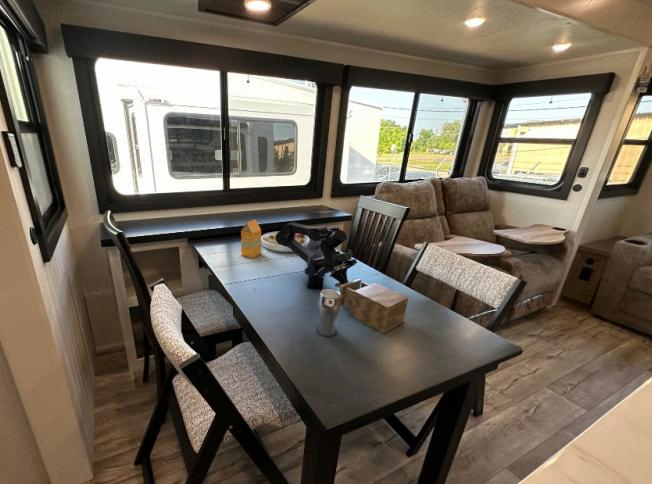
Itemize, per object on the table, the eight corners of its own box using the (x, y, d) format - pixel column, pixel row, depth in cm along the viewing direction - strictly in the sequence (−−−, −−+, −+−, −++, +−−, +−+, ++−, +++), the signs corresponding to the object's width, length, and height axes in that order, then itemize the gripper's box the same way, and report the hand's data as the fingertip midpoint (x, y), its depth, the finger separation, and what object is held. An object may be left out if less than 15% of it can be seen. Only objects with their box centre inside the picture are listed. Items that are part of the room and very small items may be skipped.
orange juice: (261, 253, 180) (261, 220, 172) (252, 258, 173) (252, 223, 166) (250, 251, 184) (250, 217, 176) (241, 255, 177) (240, 221, 169)
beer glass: (337, 327, 112) (342, 290, 106) (334, 338, 106) (339, 300, 100) (318, 323, 114) (322, 287, 108) (314, 334, 108) (318, 296, 102)
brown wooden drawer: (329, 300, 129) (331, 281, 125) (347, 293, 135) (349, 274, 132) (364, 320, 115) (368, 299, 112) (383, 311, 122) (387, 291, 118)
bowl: (294, 257, 175) (295, 244, 172) (251, 247, 190) (251, 235, 187) (316, 243, 199) (317, 232, 196) (276, 235, 213) (277, 224, 210)
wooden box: (350, 315, 120) (353, 290, 116) (370, 306, 127) (374, 282, 123) (382, 333, 109) (387, 307, 105) (403, 322, 116) (408, 297, 112)
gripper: (324, 247, 119) (343, 284, 115) (356, 239, 129) (374, 272, 125) (309, 260, 128) (326, 294, 124) (340, 252, 138) (356, 283, 134)
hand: (346, 286), depth 127 cm, fingers closed, pressing on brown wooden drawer
